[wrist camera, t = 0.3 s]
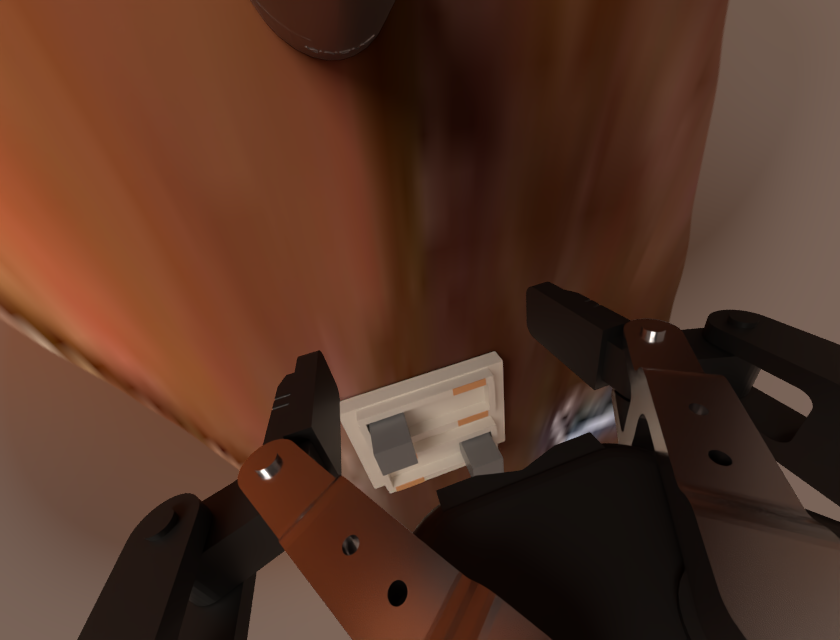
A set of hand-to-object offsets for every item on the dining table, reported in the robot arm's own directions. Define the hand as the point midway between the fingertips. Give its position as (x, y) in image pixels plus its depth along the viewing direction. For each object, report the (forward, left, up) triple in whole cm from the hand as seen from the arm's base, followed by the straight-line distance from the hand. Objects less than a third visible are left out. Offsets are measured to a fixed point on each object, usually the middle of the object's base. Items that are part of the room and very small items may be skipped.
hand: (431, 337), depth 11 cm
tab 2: (+31, +6, -15) cm, 35 cm away
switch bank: (+26, +1, -18) cm, 32 cm away
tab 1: (+22, -4, -15) cm, 27 cm away
